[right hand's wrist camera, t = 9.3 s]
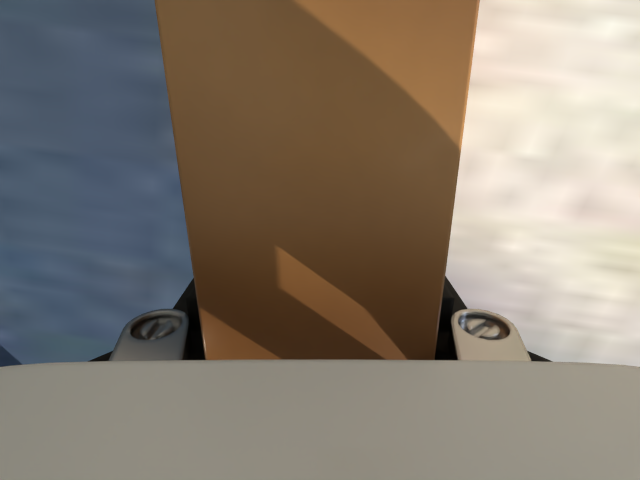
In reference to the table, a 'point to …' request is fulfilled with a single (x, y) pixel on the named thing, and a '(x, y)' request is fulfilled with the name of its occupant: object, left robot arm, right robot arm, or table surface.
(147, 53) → the table surface
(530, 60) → the table surface
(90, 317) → the table surface
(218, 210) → the beam
